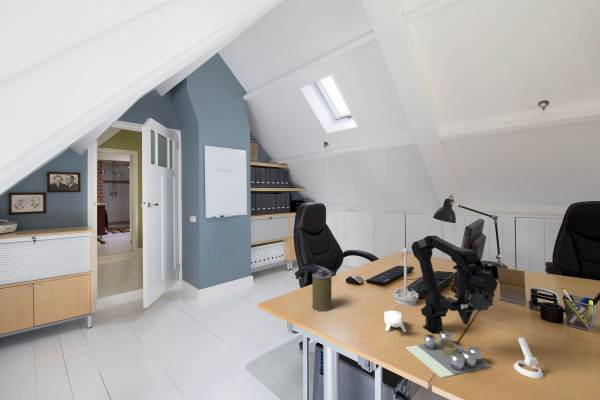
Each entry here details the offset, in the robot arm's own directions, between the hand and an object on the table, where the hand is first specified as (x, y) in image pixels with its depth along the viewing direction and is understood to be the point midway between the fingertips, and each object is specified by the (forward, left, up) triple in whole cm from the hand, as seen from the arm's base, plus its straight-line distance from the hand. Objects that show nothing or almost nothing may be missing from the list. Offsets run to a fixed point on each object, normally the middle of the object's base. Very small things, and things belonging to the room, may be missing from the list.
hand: (465, 324), depth 104 cm
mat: (+1, -11, -10) cm, 15 cm away
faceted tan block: (0, -8, -10) cm, 13 cm away
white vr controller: (+15, +10, -11) cm, 21 cm away
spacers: (+1, -7, -10) cm, 12 cm away
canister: (-53, -39, -11) cm, 66 cm away
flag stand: (-47, +8, -11) cm, 49 cm away
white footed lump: (-22, -16, -11) cm, 29 cm away
